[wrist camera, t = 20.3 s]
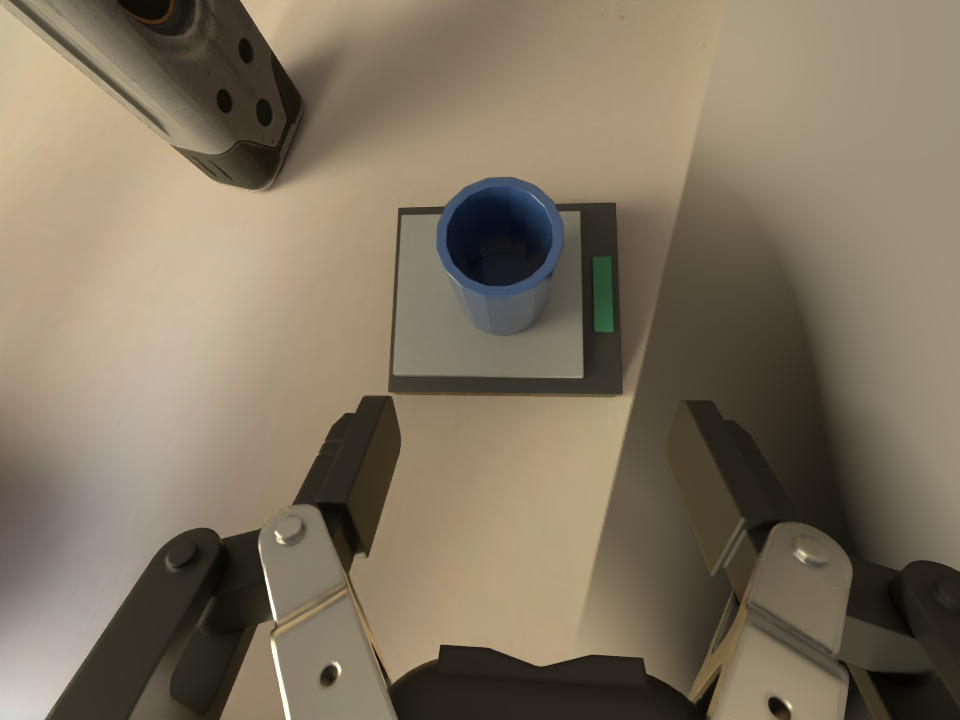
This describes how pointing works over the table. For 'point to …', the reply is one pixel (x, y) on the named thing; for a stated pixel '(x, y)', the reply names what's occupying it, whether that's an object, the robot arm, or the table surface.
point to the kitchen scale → (520, 357)
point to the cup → (501, 252)
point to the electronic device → (182, 76)
